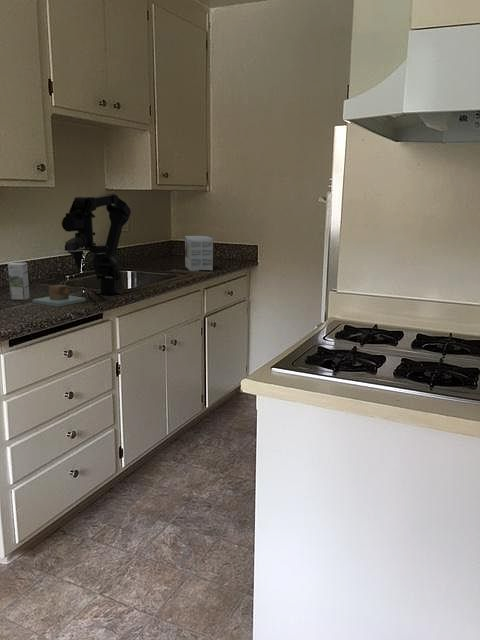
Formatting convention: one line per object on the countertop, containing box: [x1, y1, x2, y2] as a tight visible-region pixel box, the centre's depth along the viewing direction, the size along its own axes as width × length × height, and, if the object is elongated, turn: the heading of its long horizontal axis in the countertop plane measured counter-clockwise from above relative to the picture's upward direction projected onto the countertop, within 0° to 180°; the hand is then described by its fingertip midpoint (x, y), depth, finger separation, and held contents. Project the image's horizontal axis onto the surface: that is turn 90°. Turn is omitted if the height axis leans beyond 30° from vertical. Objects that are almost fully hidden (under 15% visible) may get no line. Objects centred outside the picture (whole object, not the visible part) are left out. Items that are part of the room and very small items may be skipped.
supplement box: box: [184, 235, 214, 272], centre depth 314 cm, size 17×13×18 cm
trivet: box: [32, 295, 87, 308], centre depth 215 cm, size 14×14×1 cm
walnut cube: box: [48, 284, 70, 300], centre depth 215 cm, size 5×5×5 cm
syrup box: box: [7, 261, 30, 301], centre depth 218 cm, size 6×6×14 cm
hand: (87, 269), depth 218 cm, fingers open, 9 cm apart
